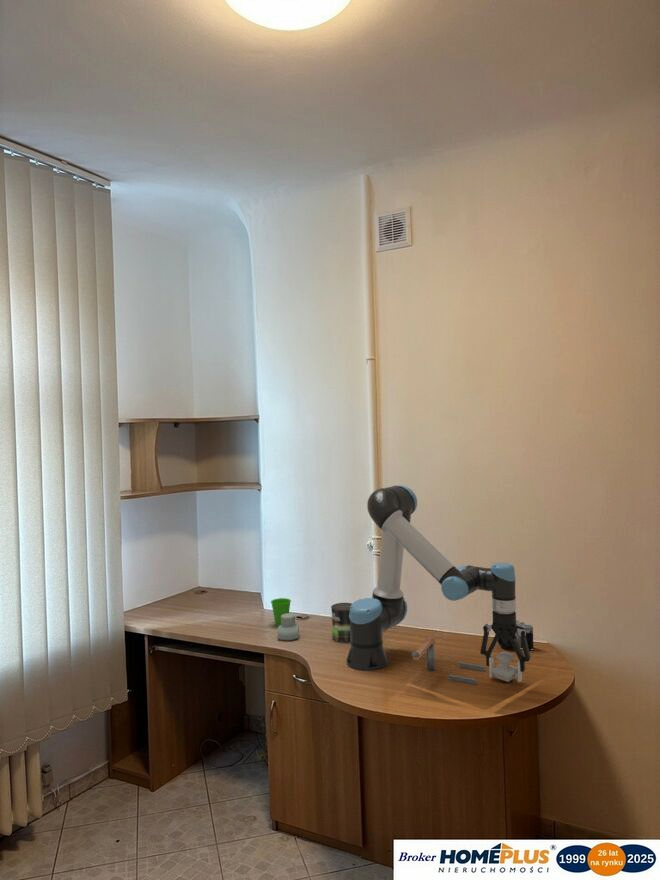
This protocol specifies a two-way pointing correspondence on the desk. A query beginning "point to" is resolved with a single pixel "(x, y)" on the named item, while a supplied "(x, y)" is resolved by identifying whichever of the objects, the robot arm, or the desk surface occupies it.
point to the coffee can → (341, 622)
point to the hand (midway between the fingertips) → (505, 678)
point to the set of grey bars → (462, 665)
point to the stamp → (505, 667)
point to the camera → (529, 636)
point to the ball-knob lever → (423, 647)
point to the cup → (280, 608)
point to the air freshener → (288, 628)
